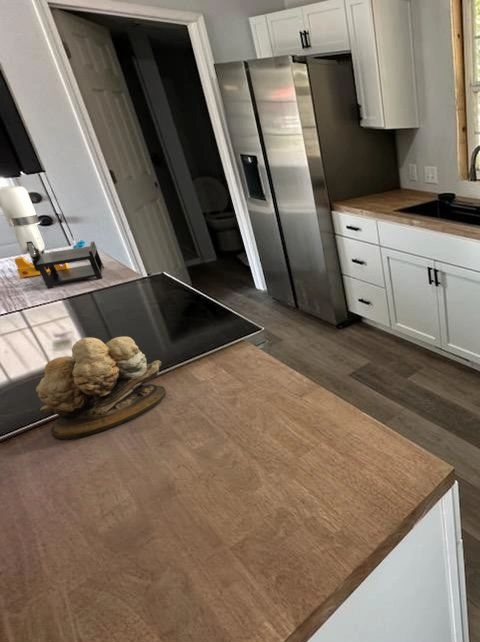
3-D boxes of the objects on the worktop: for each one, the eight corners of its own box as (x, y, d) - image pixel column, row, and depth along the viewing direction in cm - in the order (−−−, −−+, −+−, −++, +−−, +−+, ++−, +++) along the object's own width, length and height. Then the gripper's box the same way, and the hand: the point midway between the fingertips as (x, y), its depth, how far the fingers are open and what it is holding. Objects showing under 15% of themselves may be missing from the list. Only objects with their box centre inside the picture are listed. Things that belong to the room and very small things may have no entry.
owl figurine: (166, 379, 92) (140, 311, 86) (177, 402, 85) (150, 330, 79) (51, 421, 80) (11, 345, 74) (52, 452, 73) (8, 371, 66)
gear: (63, 255, 170) (80, 235, 171) (81, 261, 174) (98, 242, 176) (64, 265, 163) (82, 244, 164) (83, 271, 168) (100, 251, 169)
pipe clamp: (20, 277, 150) (13, 260, 148) (23, 274, 153) (15, 257, 151) (66, 270, 157) (60, 254, 155) (68, 267, 161) (62, 251, 158)
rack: (47, 289, 141) (33, 260, 137) (53, 276, 152) (40, 249, 148) (102, 278, 150) (91, 251, 146) (104, 267, 161) (93, 241, 157)
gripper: (12, 218, 152) (32, 264, 158) (2, 227, 140) (25, 276, 147) (42, 215, 157) (60, 260, 163) (35, 223, 145) (55, 272, 151)
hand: (43, 267), depth 155 cm, fingers closed on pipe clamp, 4 cm apart
